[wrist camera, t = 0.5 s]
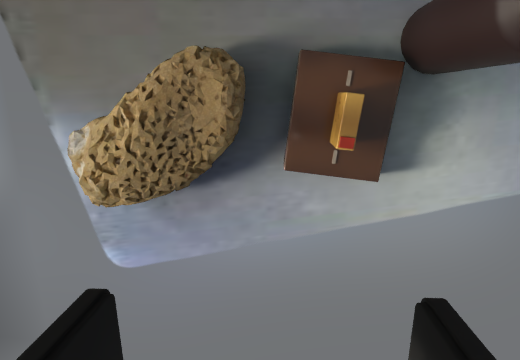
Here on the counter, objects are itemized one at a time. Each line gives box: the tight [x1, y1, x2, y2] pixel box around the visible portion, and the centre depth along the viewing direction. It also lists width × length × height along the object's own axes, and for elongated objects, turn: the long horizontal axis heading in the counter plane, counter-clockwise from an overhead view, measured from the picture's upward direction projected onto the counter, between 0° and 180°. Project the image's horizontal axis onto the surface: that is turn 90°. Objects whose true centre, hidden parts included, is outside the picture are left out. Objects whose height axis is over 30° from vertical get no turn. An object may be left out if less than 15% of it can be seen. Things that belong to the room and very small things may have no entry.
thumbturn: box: [330, 92, 365, 151], centre depth 30 cm, size 5×2×4 cm, turn 173°
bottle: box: [401, 0, 520, 74], centre depth 23 cm, size 7×7×20 cm
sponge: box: [68, 46, 245, 207], centre depth 33 cm, size 13×8×20 cm
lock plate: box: [284, 50, 405, 182], centre depth 33 cm, size 12×10×3 cm
